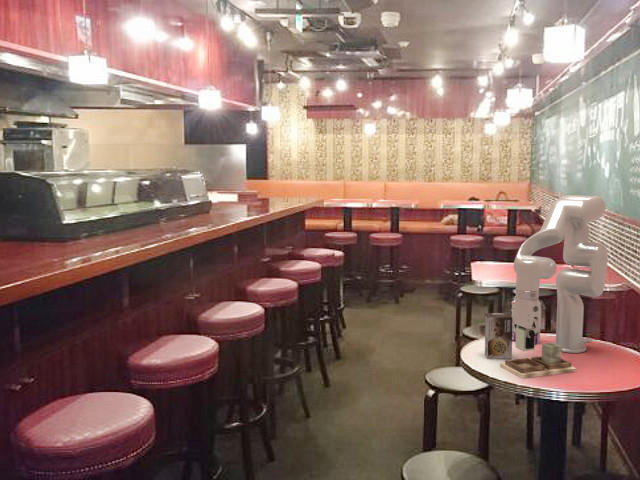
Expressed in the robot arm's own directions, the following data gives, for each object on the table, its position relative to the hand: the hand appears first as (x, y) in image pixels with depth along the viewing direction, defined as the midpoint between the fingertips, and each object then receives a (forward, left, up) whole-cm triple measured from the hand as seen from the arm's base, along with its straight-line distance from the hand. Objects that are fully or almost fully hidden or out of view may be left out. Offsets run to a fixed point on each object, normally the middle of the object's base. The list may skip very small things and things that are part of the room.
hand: (525, 345), depth 213 cm
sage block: (0, 0, -1) cm, 1 cm away
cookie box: (-1, -17, -9) cm, 19 cm away
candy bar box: (-23, -31, -9) cm, 40 cm away
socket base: (-6, 0, -9) cm, 11 cm away
